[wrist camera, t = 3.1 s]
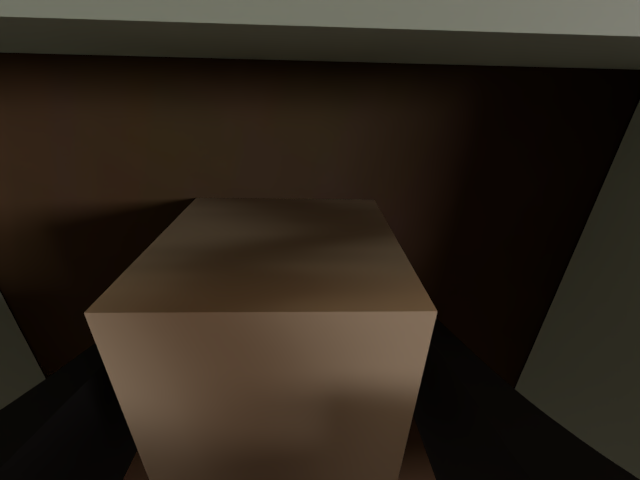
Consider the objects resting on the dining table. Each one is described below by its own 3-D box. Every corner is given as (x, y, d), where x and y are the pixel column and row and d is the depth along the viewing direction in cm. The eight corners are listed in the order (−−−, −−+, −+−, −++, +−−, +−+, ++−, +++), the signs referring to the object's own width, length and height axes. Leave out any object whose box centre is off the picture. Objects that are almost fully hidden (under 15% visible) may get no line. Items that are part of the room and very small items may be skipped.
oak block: (373, 198, 9) (437, 311, 5) (359, 331, 11) (394, 495, 7) (196, 196, 9) (83, 312, 4) (218, 333, 11) (157, 501, 7)
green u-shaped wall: (728, 11, 7) (1414, -105, 3) (538, 397, 13) (659, 561, 9) (-227, -22, 6) (-1467, -265, 2) (27, 405, 12) (-135, 591, 8)
